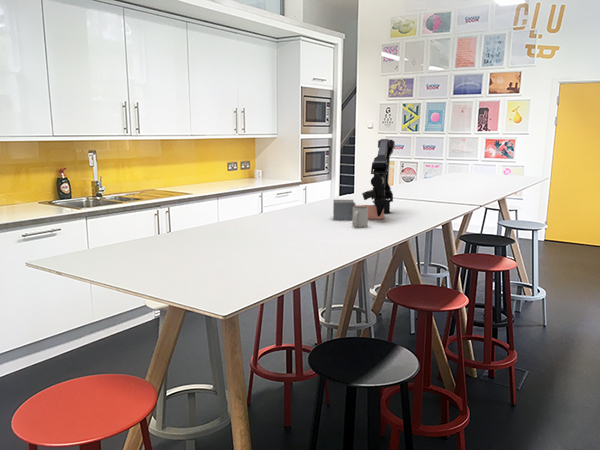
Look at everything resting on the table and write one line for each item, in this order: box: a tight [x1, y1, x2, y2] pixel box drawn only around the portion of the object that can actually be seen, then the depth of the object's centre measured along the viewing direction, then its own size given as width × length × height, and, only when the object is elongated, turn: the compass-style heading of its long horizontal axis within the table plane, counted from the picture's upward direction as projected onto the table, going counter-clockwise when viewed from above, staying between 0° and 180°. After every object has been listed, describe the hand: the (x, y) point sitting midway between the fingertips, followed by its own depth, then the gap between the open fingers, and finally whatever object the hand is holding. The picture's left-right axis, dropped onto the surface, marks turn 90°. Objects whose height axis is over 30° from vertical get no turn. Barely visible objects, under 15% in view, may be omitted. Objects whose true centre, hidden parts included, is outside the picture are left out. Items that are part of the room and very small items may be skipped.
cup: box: [351, 206, 369, 229], centre depth 237 cm, size 7×10×9 cm
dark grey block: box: [332, 199, 357, 221], centre depth 257 cm, size 11×10×9 cm
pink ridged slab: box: [354, 204, 385, 220], centre depth 257 cm, size 17×2×7 cm, turn 87°
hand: (378, 215), depth 257 cm, fingers closed on pink ridged slab, 2 cm apart
